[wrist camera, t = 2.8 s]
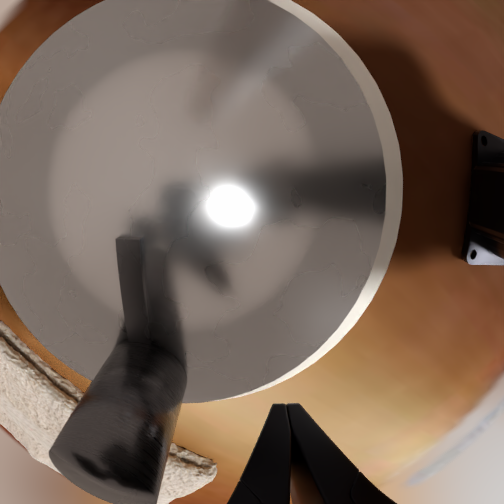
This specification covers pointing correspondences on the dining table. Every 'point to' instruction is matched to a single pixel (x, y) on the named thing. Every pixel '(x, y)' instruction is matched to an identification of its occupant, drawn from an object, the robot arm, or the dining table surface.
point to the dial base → (391, 169)
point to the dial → (181, 215)
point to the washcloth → (59, 410)
